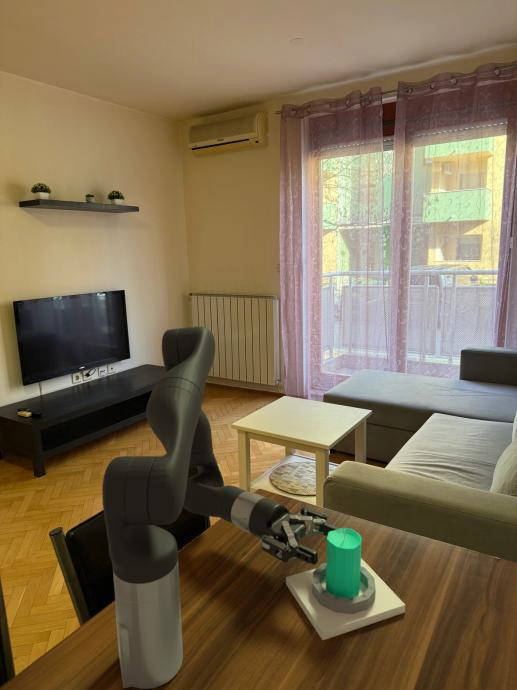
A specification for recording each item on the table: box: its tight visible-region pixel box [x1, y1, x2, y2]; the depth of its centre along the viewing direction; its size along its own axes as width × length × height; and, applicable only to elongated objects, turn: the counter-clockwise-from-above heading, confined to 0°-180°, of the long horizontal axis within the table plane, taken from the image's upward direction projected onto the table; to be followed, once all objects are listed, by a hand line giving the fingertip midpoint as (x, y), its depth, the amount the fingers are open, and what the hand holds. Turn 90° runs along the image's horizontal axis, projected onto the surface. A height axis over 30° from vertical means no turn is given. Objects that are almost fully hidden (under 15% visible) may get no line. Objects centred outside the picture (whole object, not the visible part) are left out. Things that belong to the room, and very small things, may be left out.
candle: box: [325, 527, 363, 598], centre depth 84 cm, size 6×6×12 cm
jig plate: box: [285, 557, 406, 641], centre depth 85 cm, size 16×14×4 cm
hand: (329, 547), depth 86 cm, fingers open, 8 cm apart
